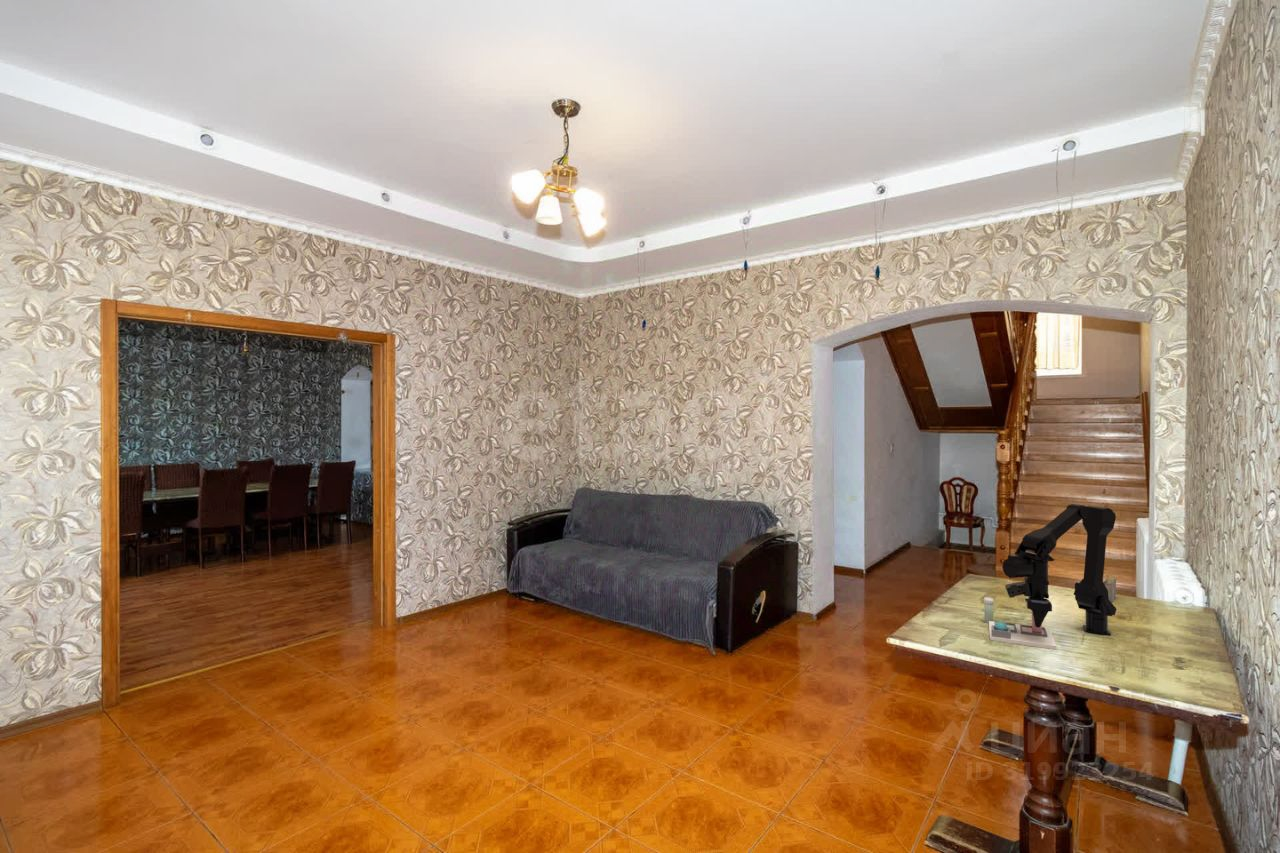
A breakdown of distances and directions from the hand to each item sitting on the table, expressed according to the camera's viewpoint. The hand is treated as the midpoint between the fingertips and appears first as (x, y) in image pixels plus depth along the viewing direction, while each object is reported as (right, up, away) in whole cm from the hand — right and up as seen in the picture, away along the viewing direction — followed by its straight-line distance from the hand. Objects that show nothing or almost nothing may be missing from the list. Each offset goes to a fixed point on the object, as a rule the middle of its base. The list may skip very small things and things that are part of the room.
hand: (1037, 625), depth 191 cm
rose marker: (0, -2, 0) cm, 2 cm away
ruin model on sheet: (+53, -4, +40) cm, 67 cm away
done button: (-12, -1, -1) cm, 12 cm away
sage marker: (-7, -4, +14) cm, 16 cm away
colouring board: (-4, -4, +1) cm, 6 cm away
